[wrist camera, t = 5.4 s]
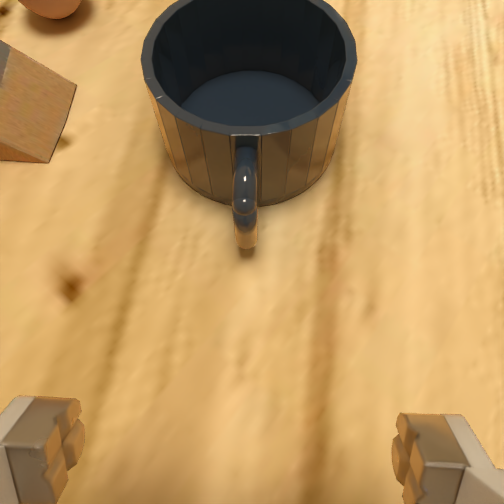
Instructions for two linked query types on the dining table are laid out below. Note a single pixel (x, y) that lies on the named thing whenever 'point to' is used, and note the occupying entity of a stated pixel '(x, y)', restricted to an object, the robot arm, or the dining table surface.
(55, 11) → the egg
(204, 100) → the coffee mug
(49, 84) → the sandwich container
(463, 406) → the dining table surface
